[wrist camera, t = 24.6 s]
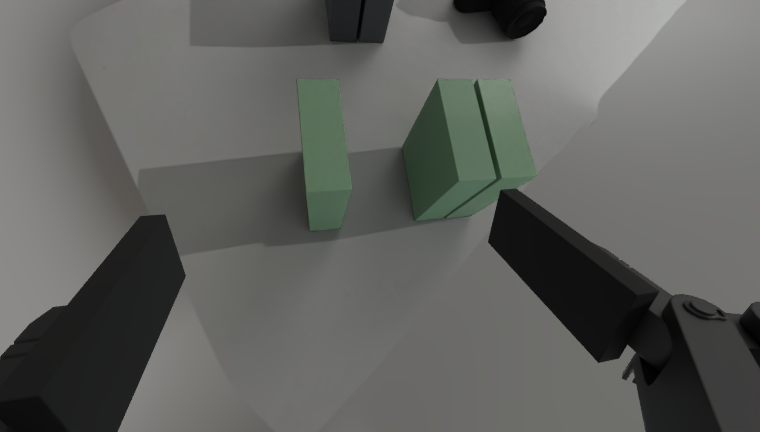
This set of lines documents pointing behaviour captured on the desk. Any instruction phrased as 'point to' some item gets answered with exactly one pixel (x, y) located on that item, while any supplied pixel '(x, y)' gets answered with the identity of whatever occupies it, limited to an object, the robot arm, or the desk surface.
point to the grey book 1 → (343, 19)
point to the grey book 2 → (374, 20)
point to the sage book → (324, 152)
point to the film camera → (509, 13)
